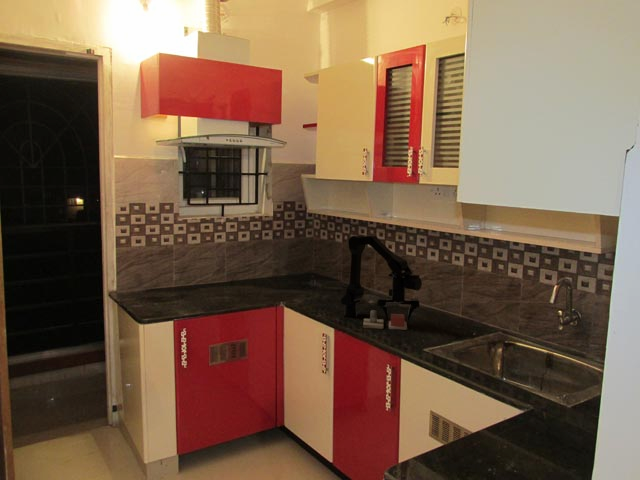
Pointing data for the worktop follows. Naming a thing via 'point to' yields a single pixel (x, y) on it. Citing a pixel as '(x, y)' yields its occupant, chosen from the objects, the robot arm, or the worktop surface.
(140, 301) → the worktop surface
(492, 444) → the worktop surface
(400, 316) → the red cuboid block
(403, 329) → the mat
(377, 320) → the post stand
